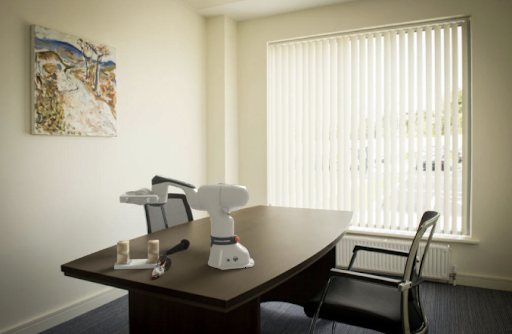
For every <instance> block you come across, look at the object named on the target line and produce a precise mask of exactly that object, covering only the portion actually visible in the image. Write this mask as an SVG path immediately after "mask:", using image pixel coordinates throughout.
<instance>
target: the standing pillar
mask: <svg viewBox="0 0 512 334" xmlns="http://www.w3.org/2000/svg"><path fill="white" fill-rule="evenodd" d="M159 257H160V240H159V239H150V240H148V242H147V259H148V263H157V261H158V259H159Z"/></svg>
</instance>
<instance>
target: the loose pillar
mask: <svg viewBox="0 0 512 334" xmlns="http://www.w3.org/2000/svg"><path fill="white" fill-rule="evenodd" d="M116 252H117V253H116V260H117V261H116V262H117V264H127V263H128V262H129V259H130V240H118V241H117V243H116Z"/></svg>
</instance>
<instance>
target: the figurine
mask: <svg viewBox="0 0 512 334" xmlns="http://www.w3.org/2000/svg"><path fill="white" fill-rule="evenodd" d="M172 263H173V261H172V258H171V257H170V256H169V254H167V255H163V254H161V255H159V259H158V261H157V265H156V267H155V268H153V270H152V272H151V276H150V277H151V278H152V279H154V280H155V279H157V278H158V276H159V277H160V276H161V275H163V274H165V272H166V271H167V269H168V268H170V267H171V266H172Z"/></svg>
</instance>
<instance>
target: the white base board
mask: <svg viewBox="0 0 512 334" xmlns="http://www.w3.org/2000/svg"><path fill="white" fill-rule="evenodd" d="M156 265H157V263H148V258H137V259H136V258H135V259H132V258H131V259H130V258H129V262H128V263H127V264H117V261H116V262H115V263H114V264H113V269H114V270H139V269H141V270H142V269H154V268H155V267H156Z"/></svg>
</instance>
